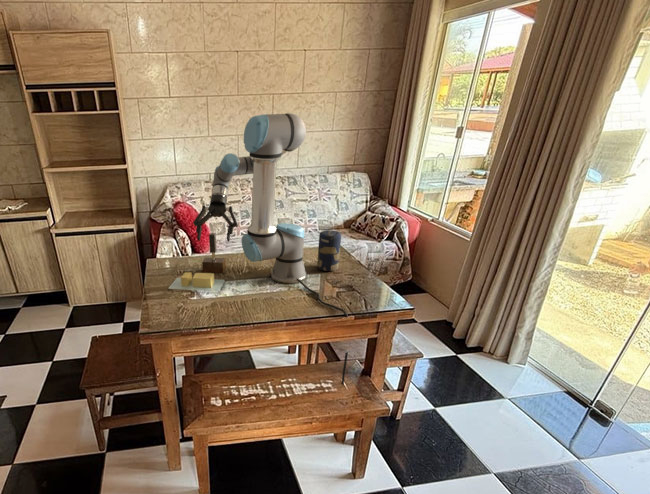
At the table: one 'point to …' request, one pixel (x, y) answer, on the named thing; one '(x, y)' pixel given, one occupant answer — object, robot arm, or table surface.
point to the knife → (212, 245)
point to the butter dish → (215, 287)
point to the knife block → (214, 265)
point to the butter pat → (186, 279)
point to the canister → (329, 250)
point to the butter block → (203, 280)
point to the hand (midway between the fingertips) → (213, 239)
